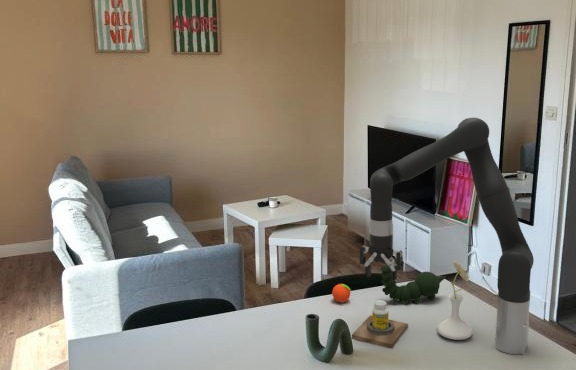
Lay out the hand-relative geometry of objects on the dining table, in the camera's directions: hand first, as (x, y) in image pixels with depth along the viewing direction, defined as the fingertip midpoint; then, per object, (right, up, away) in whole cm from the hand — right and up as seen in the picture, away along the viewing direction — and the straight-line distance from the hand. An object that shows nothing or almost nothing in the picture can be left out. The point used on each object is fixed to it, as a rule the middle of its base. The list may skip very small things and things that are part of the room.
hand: (380, 278), depth 186 cm
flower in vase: (+25, -19, +3) cm, 32 cm away
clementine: (-10, -14, +30) cm, 34 cm away
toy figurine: (+17, -14, +29) cm, 36 cm away
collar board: (+1, -19, +4) cm, 20 cm away
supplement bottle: (+1, -18, +4) cm, 18 cm away
